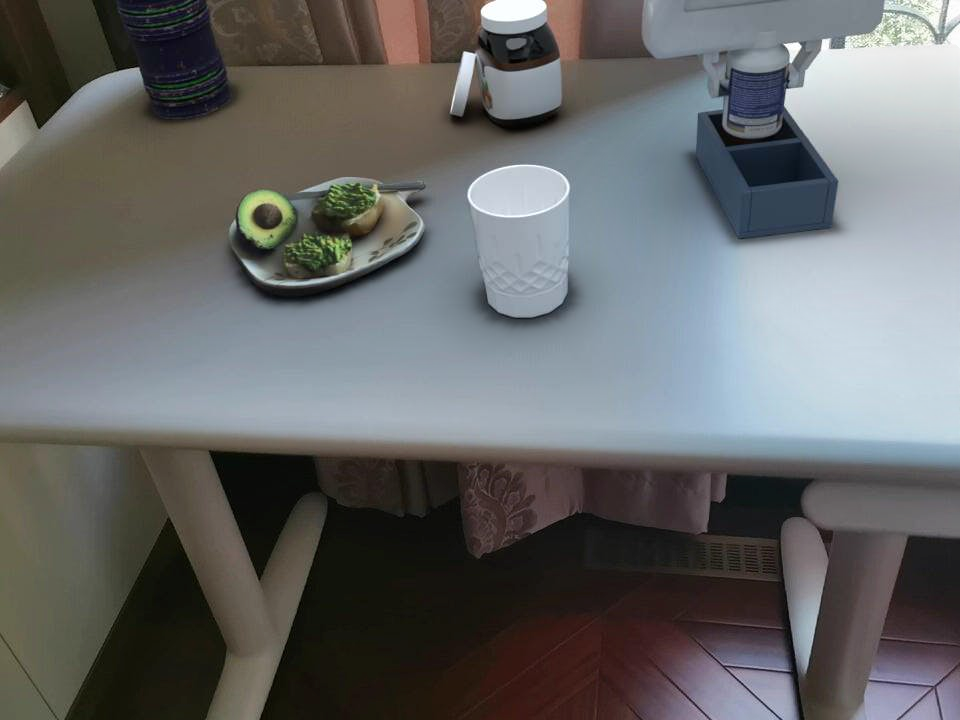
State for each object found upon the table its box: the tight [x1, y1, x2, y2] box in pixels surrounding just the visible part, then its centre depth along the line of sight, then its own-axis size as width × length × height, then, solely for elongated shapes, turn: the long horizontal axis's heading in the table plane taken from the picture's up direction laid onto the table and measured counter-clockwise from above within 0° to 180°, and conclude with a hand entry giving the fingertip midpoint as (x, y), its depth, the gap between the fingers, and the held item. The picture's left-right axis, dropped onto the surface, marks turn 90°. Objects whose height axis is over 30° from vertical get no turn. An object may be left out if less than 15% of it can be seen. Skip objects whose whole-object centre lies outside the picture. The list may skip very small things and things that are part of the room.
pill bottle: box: [722, 31, 791, 139], centre depth 86 cm, size 5×5×10 cm
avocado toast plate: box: [228, 176, 426, 298], centre depth 89 cm, size 19×18×5 cm
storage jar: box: [115, 0, 233, 120], centre depth 111 cm, size 10×10×18 cm
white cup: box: [467, 164, 571, 318], centre depth 77 cm, size 8×8×10 cm
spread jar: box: [450, 0, 563, 128], centre depth 102 cm, size 12×11×12 cm
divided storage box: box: [695, 106, 840, 240], centre depth 87 cm, size 8×15×5 cm, turn 4°
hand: (754, 90), depth 87 cm, fingers closed on pill bottle, 5 cm apart
